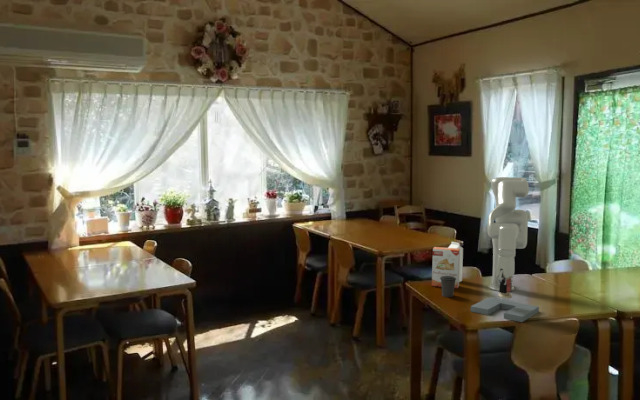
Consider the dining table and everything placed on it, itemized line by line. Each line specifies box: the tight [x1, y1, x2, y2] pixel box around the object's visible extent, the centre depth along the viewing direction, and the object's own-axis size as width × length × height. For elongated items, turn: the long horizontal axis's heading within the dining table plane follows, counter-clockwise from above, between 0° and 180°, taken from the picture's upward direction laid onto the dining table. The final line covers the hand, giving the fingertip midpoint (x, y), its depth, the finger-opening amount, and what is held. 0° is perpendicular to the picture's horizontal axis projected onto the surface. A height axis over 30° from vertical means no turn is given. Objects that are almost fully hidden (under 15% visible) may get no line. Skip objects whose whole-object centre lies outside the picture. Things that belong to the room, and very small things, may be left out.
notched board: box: [470, 297, 540, 323], centre depth 262 cm, size 20×24×2 cm
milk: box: [447, 241, 464, 283], centre depth 318 cm, size 6×6×22 cm
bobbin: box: [498, 276, 513, 299], centre depth 261 cm, size 6×6×10 cm
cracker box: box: [431, 246, 460, 289], centre depth 306 cm, size 14×6×21 cm, turn 70°
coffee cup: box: [440, 276, 456, 298], centre depth 288 cm, size 8×8×10 cm
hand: (505, 291), depth 261 cm, fingers closed on bobbin, 4 cm apart
